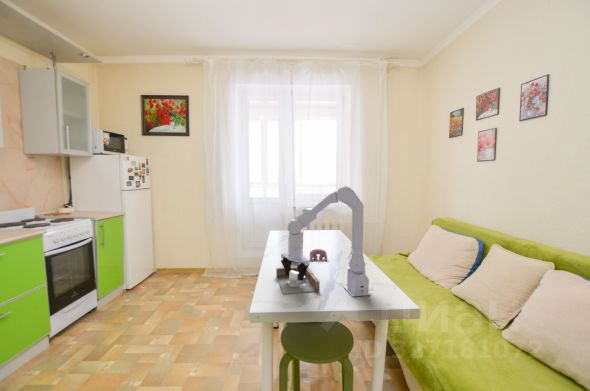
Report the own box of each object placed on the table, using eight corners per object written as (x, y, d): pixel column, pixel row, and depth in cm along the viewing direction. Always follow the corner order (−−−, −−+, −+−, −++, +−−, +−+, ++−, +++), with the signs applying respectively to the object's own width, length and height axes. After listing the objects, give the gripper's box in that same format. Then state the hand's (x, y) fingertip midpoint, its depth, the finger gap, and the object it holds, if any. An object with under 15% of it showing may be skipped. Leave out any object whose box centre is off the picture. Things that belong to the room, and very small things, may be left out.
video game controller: (326, 261, 148) (326, 249, 150) (327, 260, 144) (327, 248, 146) (309, 261, 147) (309, 249, 150) (310, 260, 143) (309, 248, 146)
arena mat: (318, 291, 107) (318, 290, 107) (283, 294, 103) (283, 293, 103) (307, 274, 124) (307, 273, 124) (276, 277, 121) (276, 275, 121)
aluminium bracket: (297, 285, 111) (297, 274, 111) (289, 282, 114) (289, 271, 114) (305, 281, 116) (305, 270, 115) (297, 278, 119) (298, 267, 118)
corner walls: (319, 291, 106) (319, 281, 106) (283, 295, 103) (283, 284, 103) (307, 274, 124) (307, 265, 124) (276, 277, 121) (276, 268, 120)
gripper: (313, 248, 110) (313, 279, 111) (288, 242, 120) (288, 270, 121) (303, 252, 105) (302, 284, 106) (278, 245, 114) (277, 275, 115)
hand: (294, 277), depth 113 cm, fingers open, 7 cm apart
